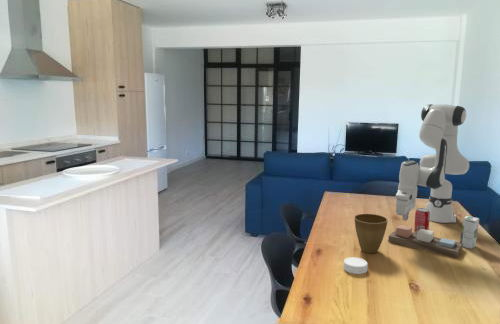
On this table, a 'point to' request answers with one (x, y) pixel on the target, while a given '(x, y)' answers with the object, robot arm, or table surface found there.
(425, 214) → the soda can
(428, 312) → the table surface
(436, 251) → the key panel
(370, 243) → the plant pot
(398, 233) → the terracotta key
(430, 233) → the white key
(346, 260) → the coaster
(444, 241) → the blue-grey key
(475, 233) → the syrup box
